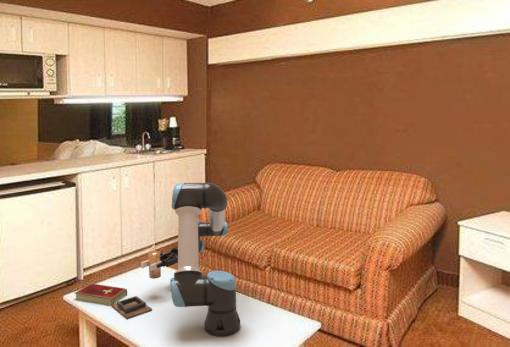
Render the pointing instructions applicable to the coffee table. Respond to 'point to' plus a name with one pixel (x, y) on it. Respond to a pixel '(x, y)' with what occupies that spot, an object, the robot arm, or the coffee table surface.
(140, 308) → the duct base
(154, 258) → the brushed copper cylinder
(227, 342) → the coffee table surface
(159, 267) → the robot arm
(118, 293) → the hardcover book
